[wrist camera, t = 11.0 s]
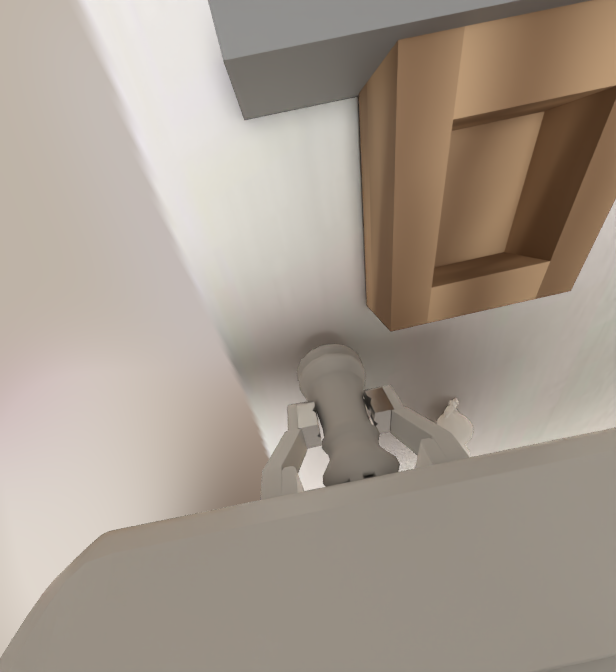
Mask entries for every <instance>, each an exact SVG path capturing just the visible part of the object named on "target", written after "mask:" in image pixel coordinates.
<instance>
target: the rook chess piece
mask: <svg viewBox="0 0 616 672" xmlns="http://www.w3.org/2000/svg"><path fill="white" fill-rule="evenodd" d="M297 378H298V381H299V386H300V391H301V393H302V394H303V396H304V397H305V398H306V400H307V401H314V403H315V409H316V411H317V414H318V417H319V420H320V423H321V425H322V428H323V433H324V439H323V441H322V449H323V450H324V451H325V452H326V454H328V455H329V458H330V461H329V464H328V466H327V468H326V470H325V473H324V475H323V484H324V485H325V486H326V487H327V486H332V485H337V484H342V483H347V482H352V481H357V480H362V479H366V478H371V477H376V476H381V475H386V474H391V473H396V472H398V470H399V466H400V464H399V462H398V460H397V458H396V457H395V456H394V455H392V454H391V453H389V452H388V451H386V450H384V449H383V448H381V447H380V445H379V442H378V440H379V435H380V432H379V430H378V428H377V427H376V426H374V425H372V424H371V422H370V420H369V417H368V414H367V410H366V406H365V402H364V399H363V391H364V386H365V378H366V374H365V370H364V368H363V365H362V362H361V360H360V358H359V355H358V353H356V352H355V351H354V350H352V349H351V348H350V347H348V346H344V345H340V344H329V345H322V346H320V347H317V348H315V349H313V350H311V351H310V352H309V353H308V354H307V355H306V356H305V357H303V358H302V359H301V361H300V363H299V366H298V368H297Z"/></svg>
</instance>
